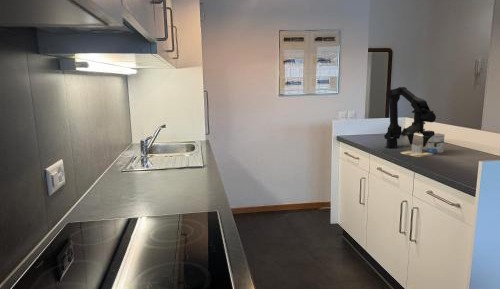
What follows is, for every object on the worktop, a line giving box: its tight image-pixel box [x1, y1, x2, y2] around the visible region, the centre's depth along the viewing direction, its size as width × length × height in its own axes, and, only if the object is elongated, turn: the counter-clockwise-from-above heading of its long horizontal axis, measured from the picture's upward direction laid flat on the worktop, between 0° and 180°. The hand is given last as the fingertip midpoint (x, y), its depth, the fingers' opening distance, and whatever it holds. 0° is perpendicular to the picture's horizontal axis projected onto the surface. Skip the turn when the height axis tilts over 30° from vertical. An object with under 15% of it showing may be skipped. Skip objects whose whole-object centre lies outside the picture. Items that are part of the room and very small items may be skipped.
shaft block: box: [400, 143, 434, 158], centre depth 224 cm, size 14×12×6 cm
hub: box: [411, 143, 423, 154], centre depth 224 cm, size 6×6×5 cm
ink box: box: [426, 132, 445, 154], centre depth 228 cm, size 8×5×12 cm, turn 105°
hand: (417, 145), depth 223 cm, fingers open, 9 cm apart
